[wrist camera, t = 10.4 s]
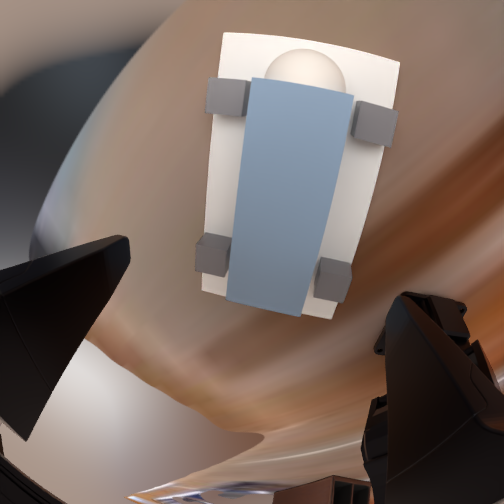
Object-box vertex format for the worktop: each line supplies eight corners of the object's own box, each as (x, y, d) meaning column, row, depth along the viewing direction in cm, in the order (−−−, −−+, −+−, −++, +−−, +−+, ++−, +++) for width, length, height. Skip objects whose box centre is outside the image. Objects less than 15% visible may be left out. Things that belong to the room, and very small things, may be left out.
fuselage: (304, 278, 20) (300, 317, 17) (241, 264, 21) (225, 300, 17) (350, 64, 13) (360, 53, 10) (271, 50, 14) (257, 35, 10)
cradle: (331, 310, 22) (331, 336, 20) (205, 283, 23) (193, 304, 21) (395, 64, 13) (408, 58, 11) (228, 35, 14) (213, 26, 12)
